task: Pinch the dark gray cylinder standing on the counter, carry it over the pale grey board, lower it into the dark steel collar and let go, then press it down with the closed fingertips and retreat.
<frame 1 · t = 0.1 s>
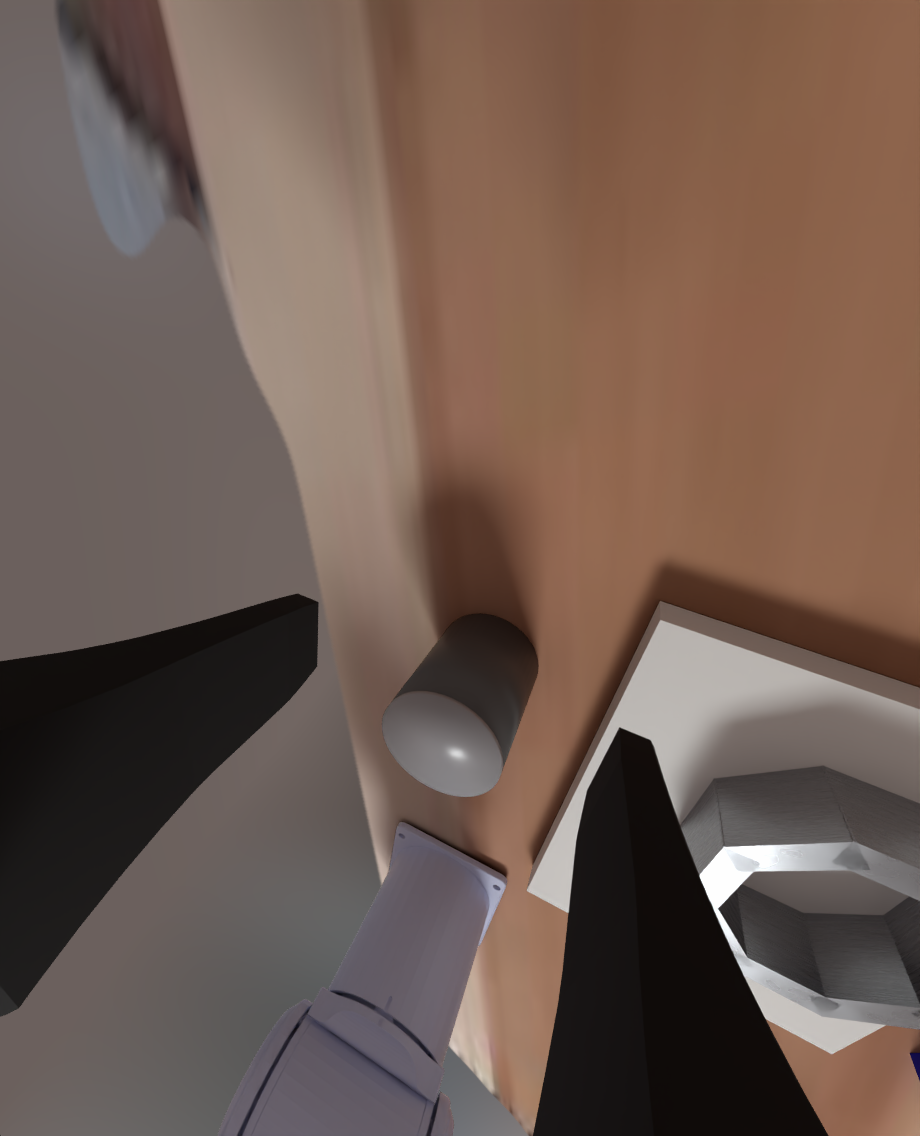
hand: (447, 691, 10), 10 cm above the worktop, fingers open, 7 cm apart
dark gray cylinder: (488, 657, 22), on the worktop
socket board: (752, 838, 20), on the worktop
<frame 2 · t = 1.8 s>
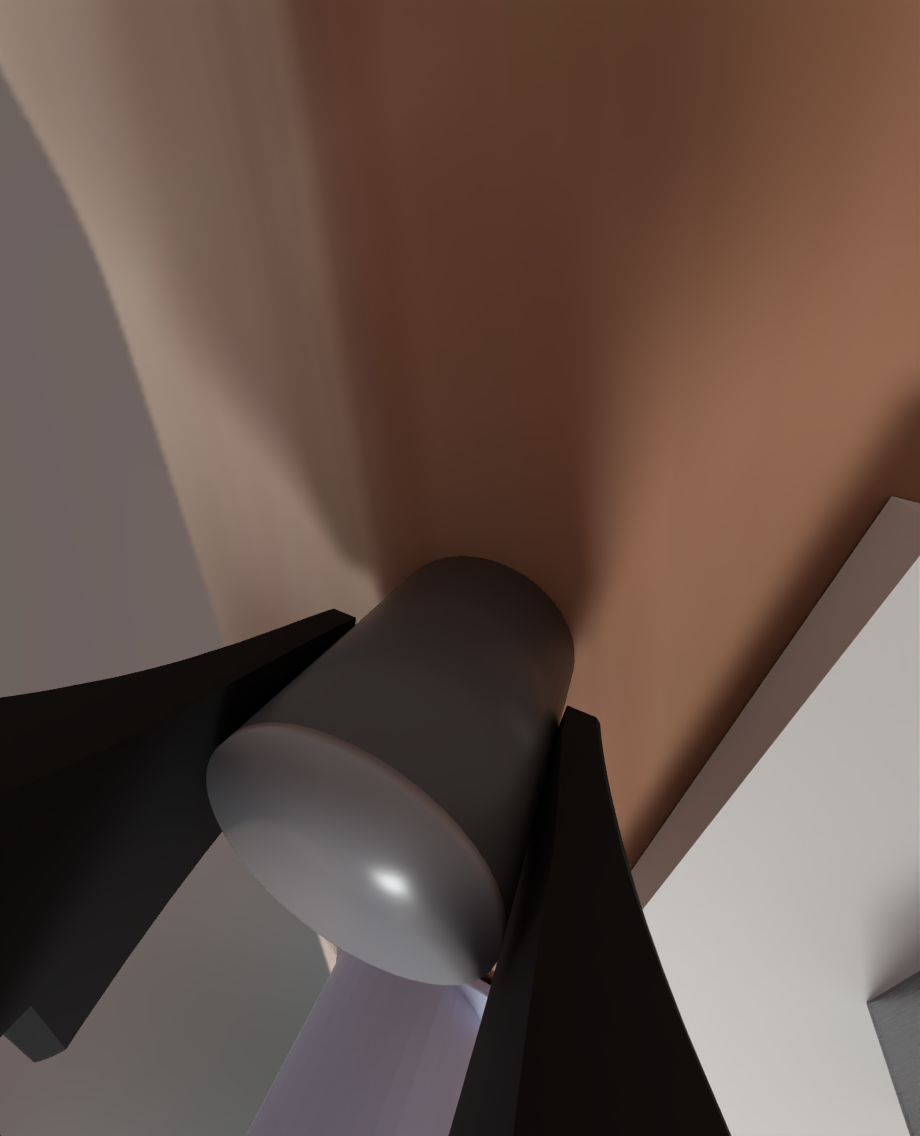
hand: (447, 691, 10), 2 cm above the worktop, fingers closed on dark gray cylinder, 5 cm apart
dark gray cylinder: (476, 644, 11), on the worktop, touching gripper
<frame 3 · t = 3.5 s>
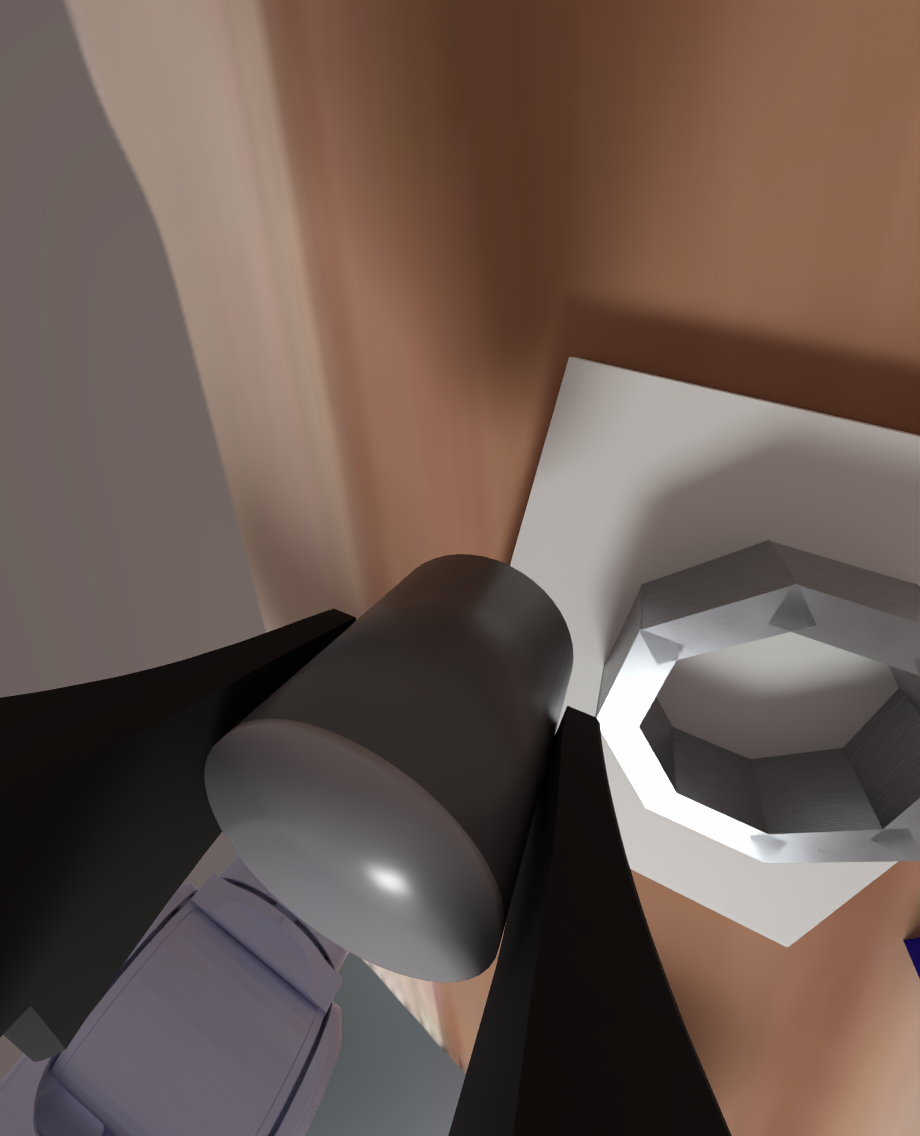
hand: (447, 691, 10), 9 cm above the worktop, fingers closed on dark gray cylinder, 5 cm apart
dark gray cylinder: (475, 642, 11), point 7 cm above the worktop, touching gripper
socket board: (695, 681, 17), on the worktop
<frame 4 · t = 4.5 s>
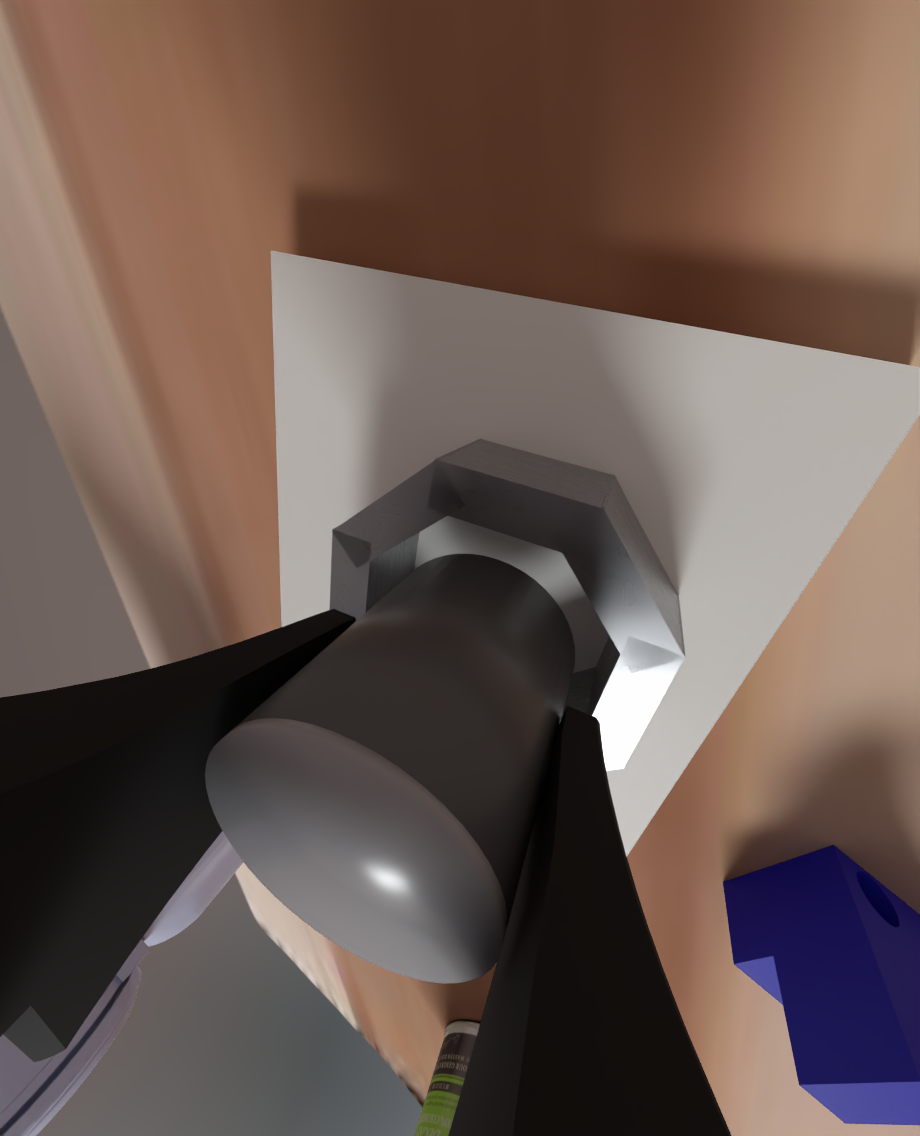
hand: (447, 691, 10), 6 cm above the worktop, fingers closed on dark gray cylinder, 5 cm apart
blue u-shaped cradle block: (902, 961, 16), on the worktop
dark gray cylinder: (477, 642, 11), point 4 cm above the worktop, touching gripper
coffee can: (512, 1063, 32), on the worktop
socket board: (481, 612, 16), on the worktop
when the fingers open (5 cm above the worktop, at t = 5.2 s): dark gray cylinder drops 2 cm, resting on socket board.
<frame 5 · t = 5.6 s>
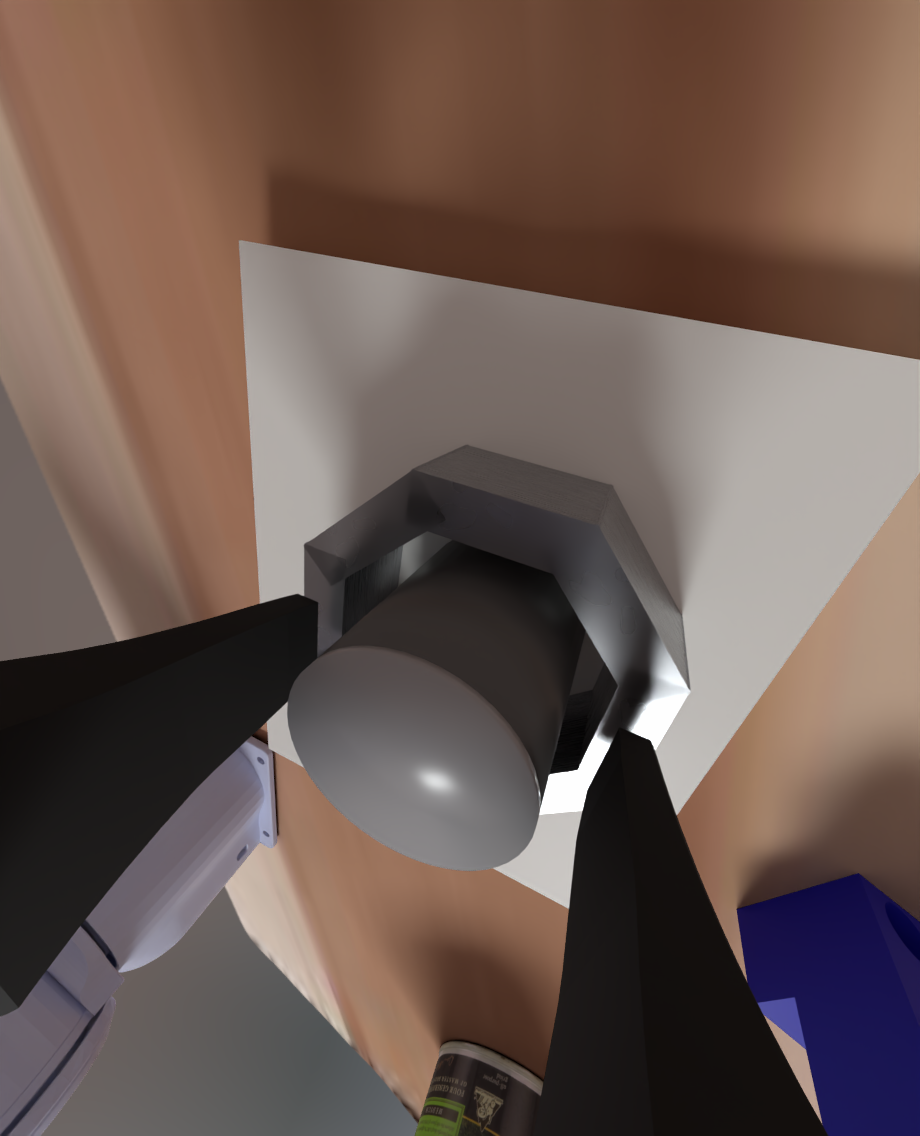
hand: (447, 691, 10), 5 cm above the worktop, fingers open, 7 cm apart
dark gray cylinder: (499, 610, 13), point 1 cm above the worktop, touching socket board
coffee can: (508, 1085, 31), on the worktop
socket board: (471, 627, 15), on the worktop
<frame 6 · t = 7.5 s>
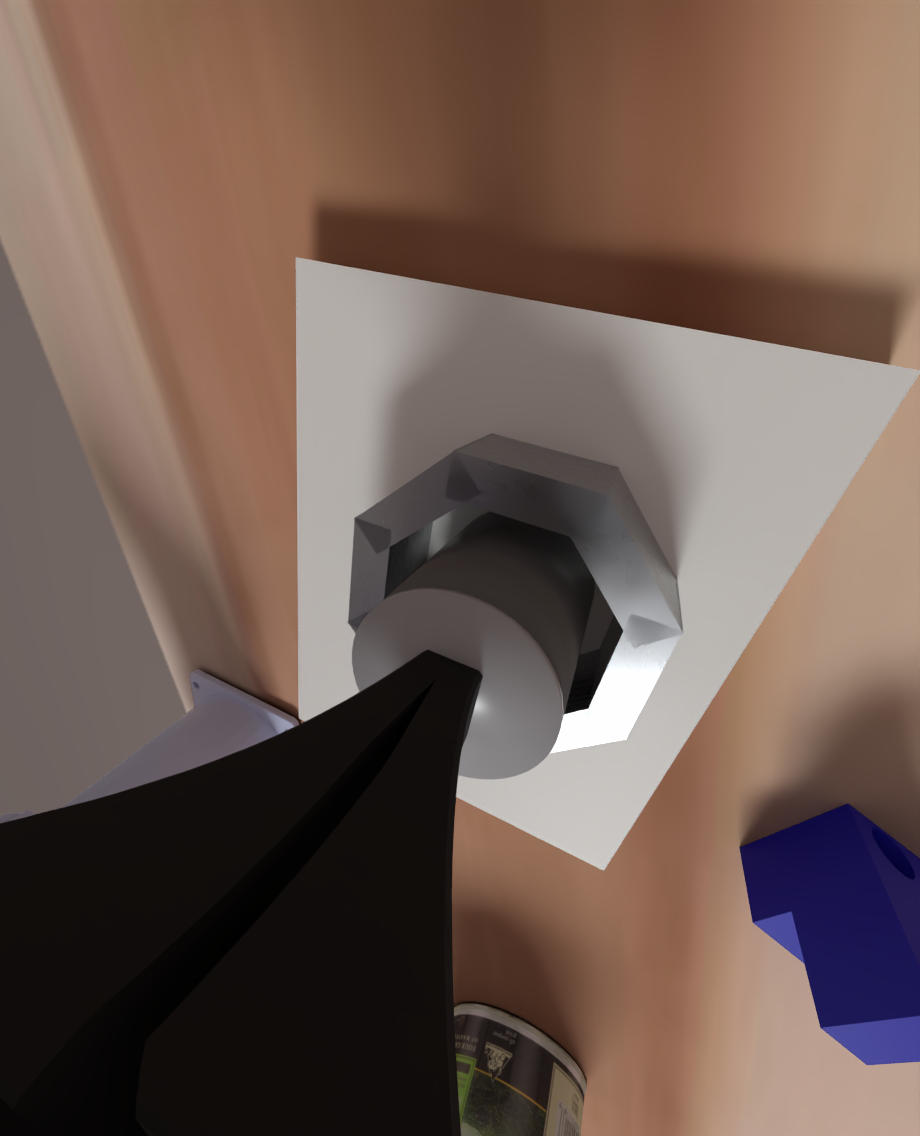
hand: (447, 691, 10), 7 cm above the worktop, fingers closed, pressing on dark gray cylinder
dark gray cylinder: (517, 579, 15), point 1 cm above the worktop, touching gripper, socket board
coffee can: (515, 1045, 32), on the worktop
socket board: (490, 599, 17), on the worktop
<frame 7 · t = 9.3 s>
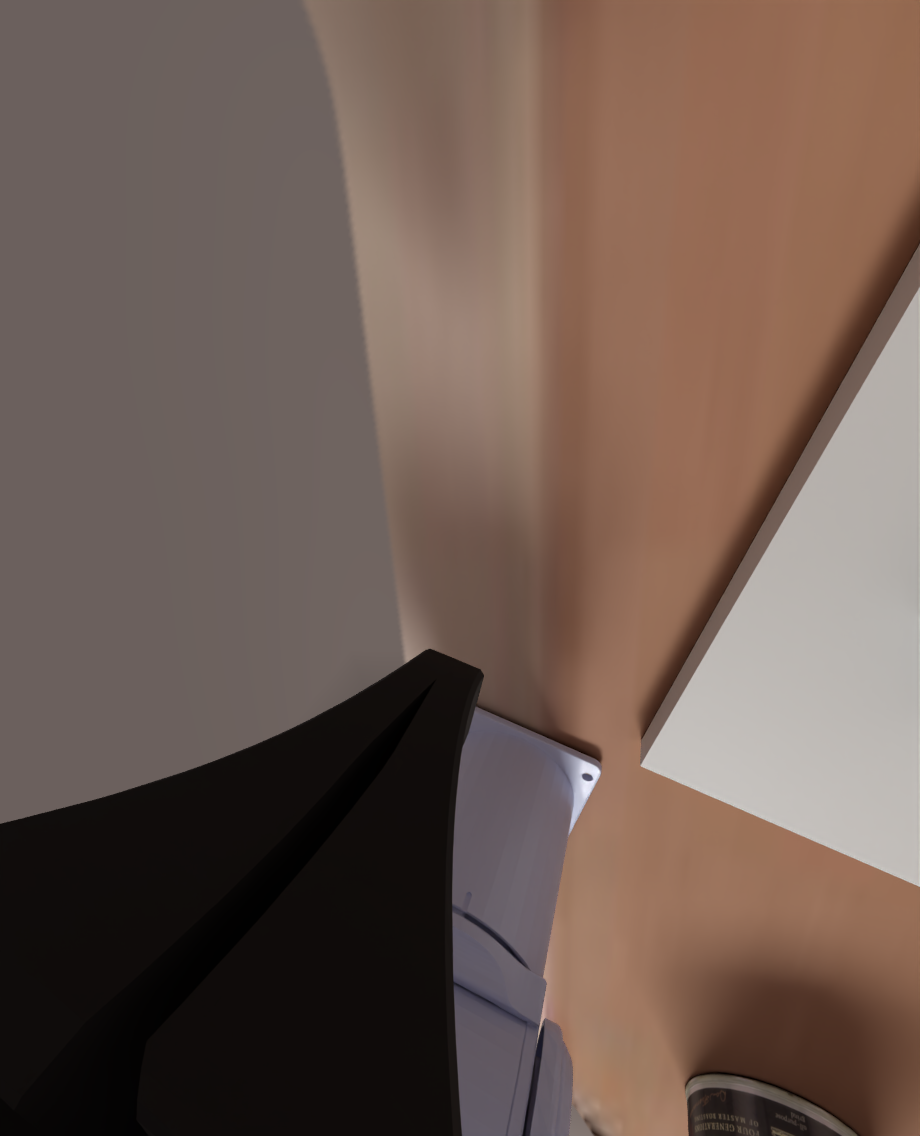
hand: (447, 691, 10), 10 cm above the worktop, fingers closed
coffee can: (772, 1120, 29), on the worktop
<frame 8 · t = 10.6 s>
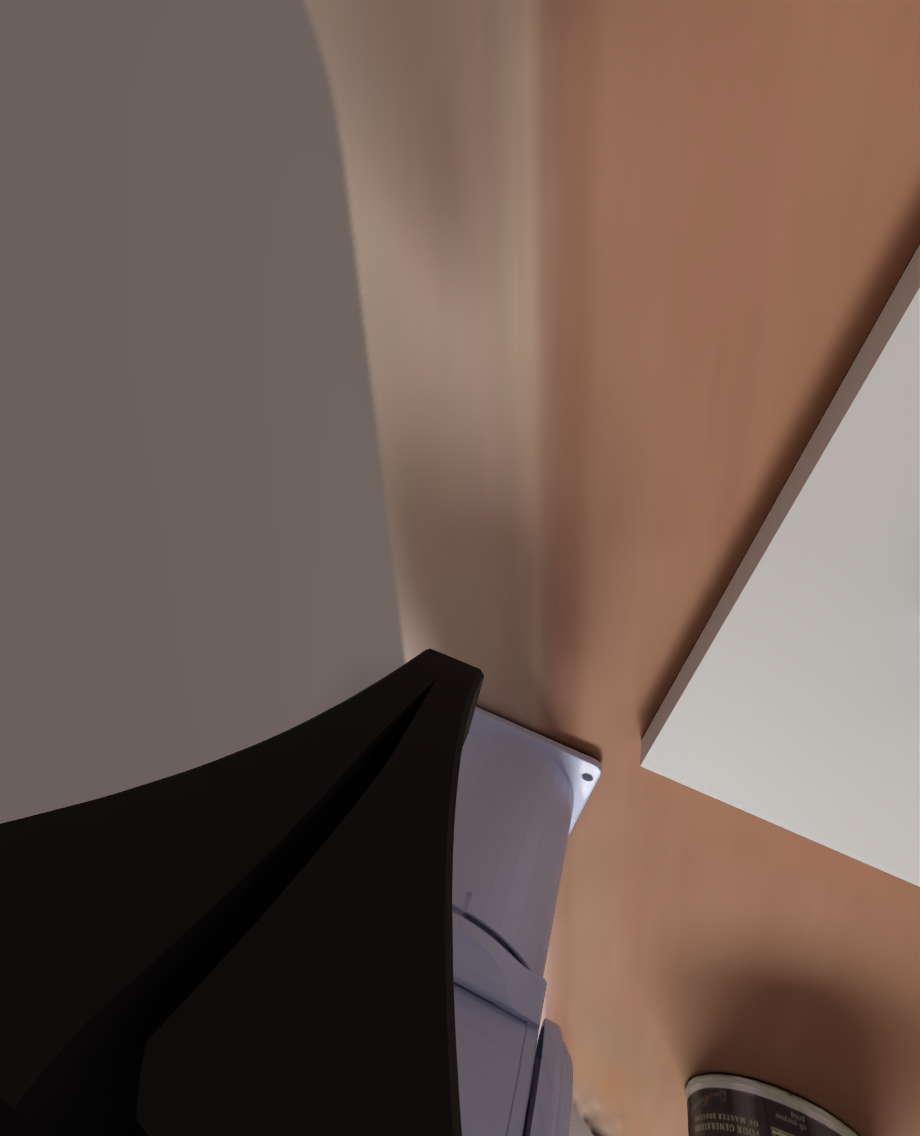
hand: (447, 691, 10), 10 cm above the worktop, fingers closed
coffee can: (772, 1120, 29), on the worktop
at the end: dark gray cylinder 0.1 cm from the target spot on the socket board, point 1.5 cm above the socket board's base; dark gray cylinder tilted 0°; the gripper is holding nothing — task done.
